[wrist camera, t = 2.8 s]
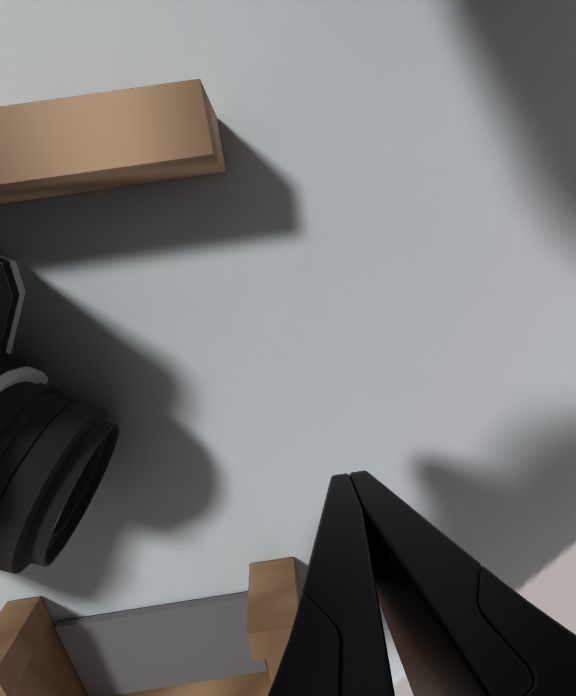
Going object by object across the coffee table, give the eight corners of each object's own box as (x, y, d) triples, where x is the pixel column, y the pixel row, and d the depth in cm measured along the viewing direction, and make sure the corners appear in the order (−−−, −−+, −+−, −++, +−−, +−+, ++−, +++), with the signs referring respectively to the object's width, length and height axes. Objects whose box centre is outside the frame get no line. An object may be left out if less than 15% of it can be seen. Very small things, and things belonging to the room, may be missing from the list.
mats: (250, 591, 17) (249, 597, 17) (267, 664, 19) (267, 670, 18) (-170, 656, 17) (-178, 664, 17) (-115, 725, 18) (-121, 732, 18)
